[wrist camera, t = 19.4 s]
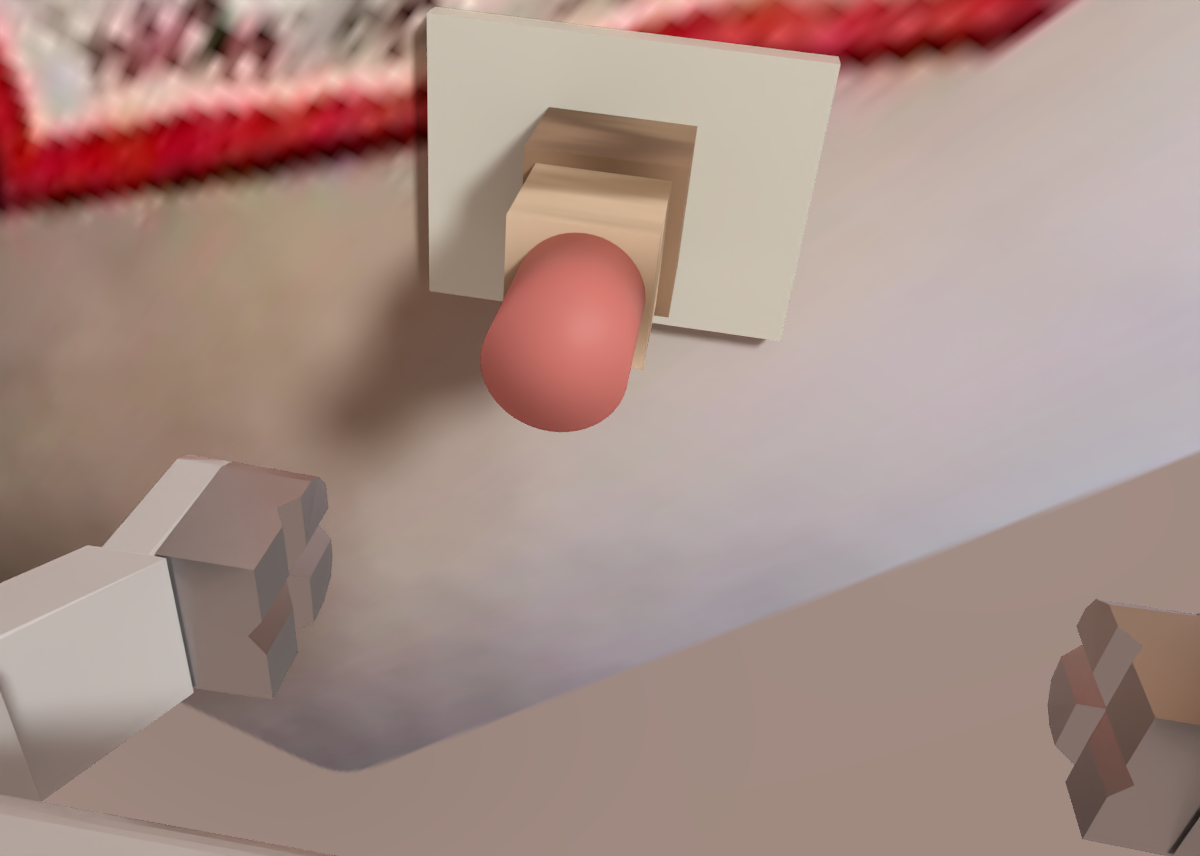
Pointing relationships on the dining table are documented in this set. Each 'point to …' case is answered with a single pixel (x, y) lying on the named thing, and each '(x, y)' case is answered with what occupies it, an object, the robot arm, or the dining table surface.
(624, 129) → the walnut base
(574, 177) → the beech cube
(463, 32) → the board
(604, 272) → the red capsule
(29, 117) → the dining table surface
